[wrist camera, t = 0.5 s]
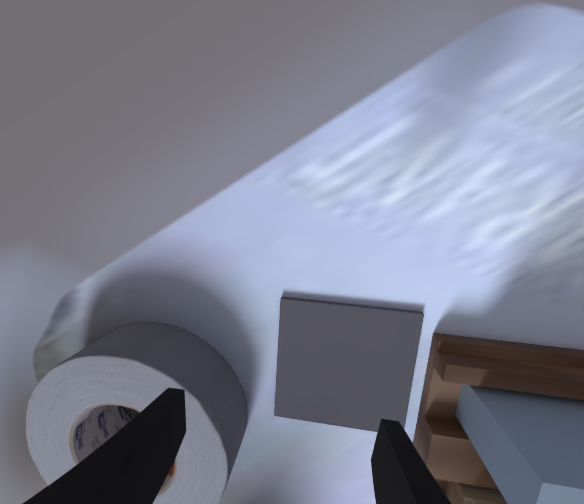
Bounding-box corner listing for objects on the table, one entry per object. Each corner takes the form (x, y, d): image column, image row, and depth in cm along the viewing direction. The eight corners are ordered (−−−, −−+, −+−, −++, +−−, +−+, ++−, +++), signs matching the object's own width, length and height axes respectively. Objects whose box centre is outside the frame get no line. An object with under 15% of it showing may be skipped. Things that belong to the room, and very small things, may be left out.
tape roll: (222, 307, 21) (189, 341, 16) (266, 469, 24) (250, 540, 19) (60, 334, 24) (-10, 370, 19) (116, 477, 26) (67, 541, 21)
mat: (401, 431, 21) (402, 436, 21) (275, 411, 22) (274, 415, 22) (421, 311, 19) (423, 314, 19) (281, 296, 20) (280, 298, 20)
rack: (592, 535, 21) (628, 580, 18) (402, 499, 22) (411, 537, 20) (659, 359, 17) (713, 385, 15) (433, 333, 19) (448, 352, 17)
